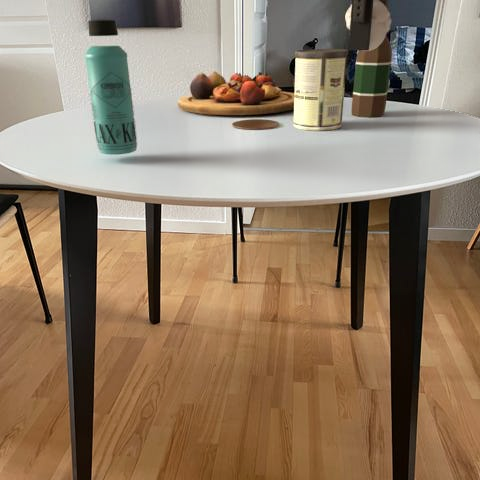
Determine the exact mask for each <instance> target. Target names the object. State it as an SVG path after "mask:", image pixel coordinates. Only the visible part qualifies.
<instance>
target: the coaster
mask: <svg viewBox="0 0 480 480" xmlns="http://www.w3.org/2000/svg"><path fill="white" fill-rule="evenodd" d="M279 126H280V122H278V121H277V120H273V119H262V118H261V119H259V118H256V119H253V118H252V119H241V120H236V121H233V122H232V127H233V128H235V129H237V130H244V131H245V130H246V131H261V130H263V131H264V130H270V129H275V128H278V127H279Z"/></svg>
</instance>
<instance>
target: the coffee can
mask: <svg viewBox="0 0 480 480" xmlns="http://www.w3.org/2000/svg"><path fill="white" fill-rule="evenodd" d="M348 55H349V50H348V49H342V48H341V49H340V48H315V49H313V48H312V49H300V50H296V51H295V52H294V56H295V67H294V92H293V93H294V109H293V123H292V124H293V128H295V129H297V130H302V131H313V132H314V131H315V132H316V131H319V132H320V131H321V132H323V131H324V132H325V131H332V130H339V129H340V128H342V125H343V124H342V123H343V114H344V113H343V111H344V98H345V88H346V87H345V85H346V75H347V73H346V72H347V63H348V62H347V61H348Z"/></svg>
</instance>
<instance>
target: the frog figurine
mask: <svg viewBox="0 0 480 480" xmlns="http://www.w3.org/2000/svg"><path fill="white" fill-rule="evenodd" d="M351 8H352V3H351V4H350V6H349V7H348V9H347V10H346V13H345V16H344V18H345V19H344V20H345V23H346V29H348V30H350V21H351ZM391 25H392V18H391V12H390V11H389V9H388V10H387V8H386V6H385V5H384V4H383V3H382V2H380V1H379V0H374V1H373V12H372V23H371V33H370V44H369V50H362V51H371V50H374V49H376V48H377V47H378V46H379V45H380V44H381V43H382V42H383V40H384V38H385V36H386V33H387V34H388V32H389V31H390V29H391ZM348 33H349V34H350V32H348Z"/></svg>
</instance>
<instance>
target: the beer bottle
mask: <svg viewBox="0 0 480 480" xmlns="http://www.w3.org/2000/svg"><path fill="white" fill-rule="evenodd" d="M386 8H387V10H388V11H389V0H386ZM392 57H393V50H392V46H391V43H390V40H389V37H388V32H387V33H386V36H385V38H384V40H383V42H382V46H381V47H377V48H376V49H374V50H371V51H362V50H357V54H356V60H355V67H354V68H355V70H354V80H353V89H352V98H351V99H352V100H351V115H352V116H355V117H357V118H358V117H359V118H379V117H382V116H383V115H384V114H385V113H386V112H385V111H386V106H387V101H388V100H387V99H388V93H389V92H388V91H389V84H390V77H391V76H390V75H391V67H392V59H393V58H392Z"/></svg>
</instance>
